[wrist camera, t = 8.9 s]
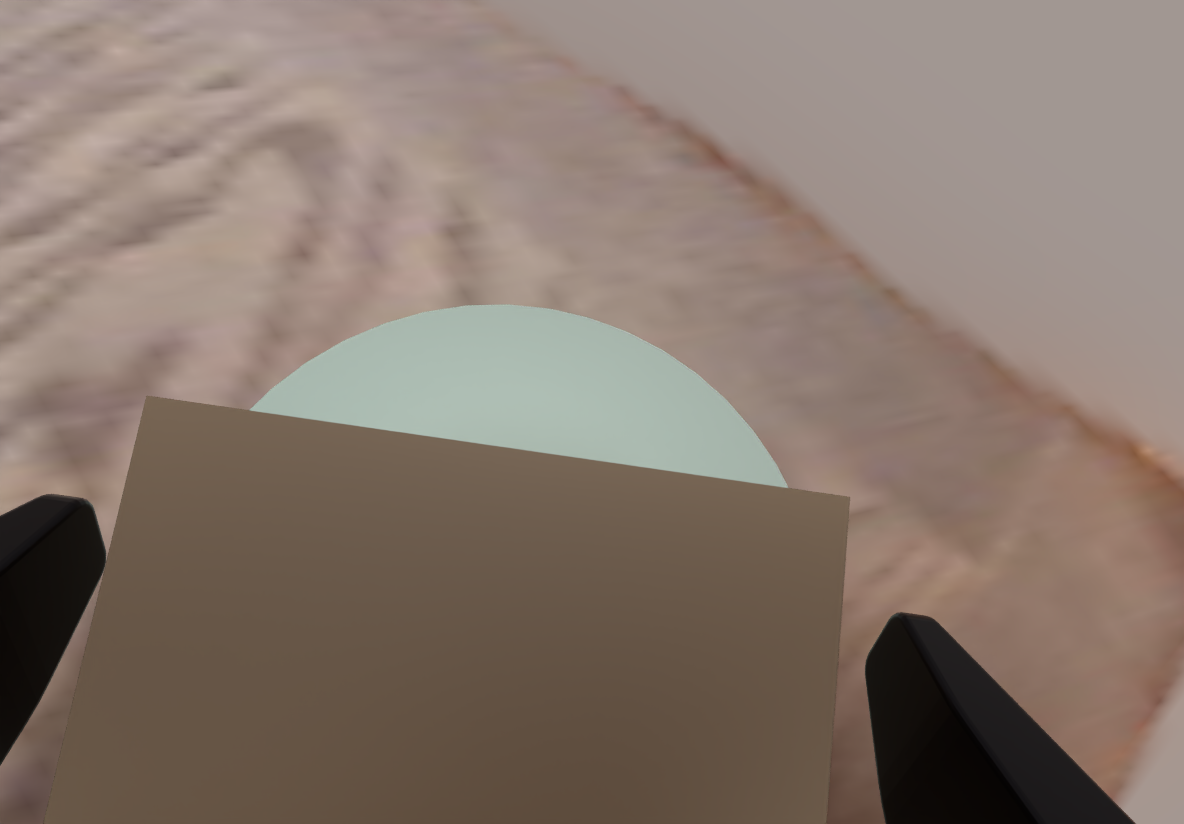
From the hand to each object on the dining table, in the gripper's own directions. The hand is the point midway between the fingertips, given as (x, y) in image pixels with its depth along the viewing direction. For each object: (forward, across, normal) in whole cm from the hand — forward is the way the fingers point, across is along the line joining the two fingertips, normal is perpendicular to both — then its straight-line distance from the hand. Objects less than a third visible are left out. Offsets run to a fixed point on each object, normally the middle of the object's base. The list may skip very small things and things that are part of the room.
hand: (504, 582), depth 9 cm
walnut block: (+4, 0, +6) cm, 8 cm away
